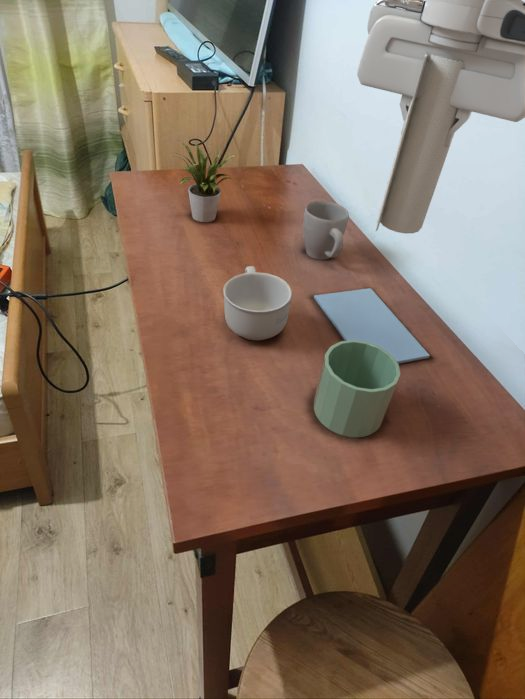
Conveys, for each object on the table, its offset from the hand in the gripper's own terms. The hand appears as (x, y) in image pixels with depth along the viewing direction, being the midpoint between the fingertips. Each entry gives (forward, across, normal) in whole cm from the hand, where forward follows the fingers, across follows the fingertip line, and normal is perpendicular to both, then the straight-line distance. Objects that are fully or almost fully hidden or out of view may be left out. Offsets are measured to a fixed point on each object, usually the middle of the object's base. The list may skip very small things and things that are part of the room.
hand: (425, 140), depth 63 cm
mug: (+34, -16, +22) cm, 44 cm away
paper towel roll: (+12, -1, 0) cm, 12 cm away
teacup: (+34, -18, -6) cm, 39 cm away
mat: (+34, -1, +5) cm, 34 cm away
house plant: (+34, -46, +22) cm, 62 cm away
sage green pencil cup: (+34, +3, -16) cm, 37 cm away
